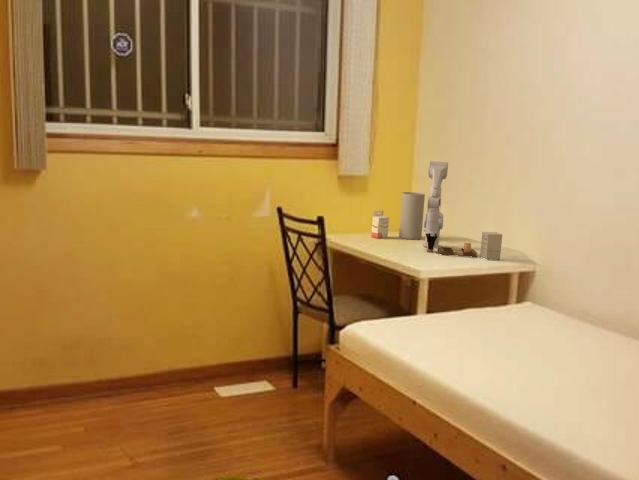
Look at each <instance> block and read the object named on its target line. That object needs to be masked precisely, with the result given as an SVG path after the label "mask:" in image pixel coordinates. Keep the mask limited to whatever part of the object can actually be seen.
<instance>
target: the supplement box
mask: <svg viewBox="0 0 639 480" xmlns="http://www.w3.org/2000/svg"><path fill="white" fill-rule="evenodd" d="M480 242H481V243H480V255H479V257H480V258H481V257H482V258H481V259H483V258H485V259H500V260H501V256H502V255H501V252H502V244H503V234H502V233H500V232H497V231H482V234H481V241H480ZM485 259H484V260H485Z"/></svg>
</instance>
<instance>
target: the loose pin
mask: <svg viewBox="0 0 639 480" xmlns="http://www.w3.org/2000/svg"><path fill="white" fill-rule="evenodd" d="M426 252H427V253H434V247H433V249H428V243H427V247H426Z"/></svg>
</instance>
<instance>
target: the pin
mask: <svg viewBox="0 0 639 480" xmlns="http://www.w3.org/2000/svg"><path fill="white" fill-rule="evenodd" d="M463 246H464V247H463V249H464V252H468V253H470V251H471V249H472V243H470V242H465V243H464V245H463Z"/></svg>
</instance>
